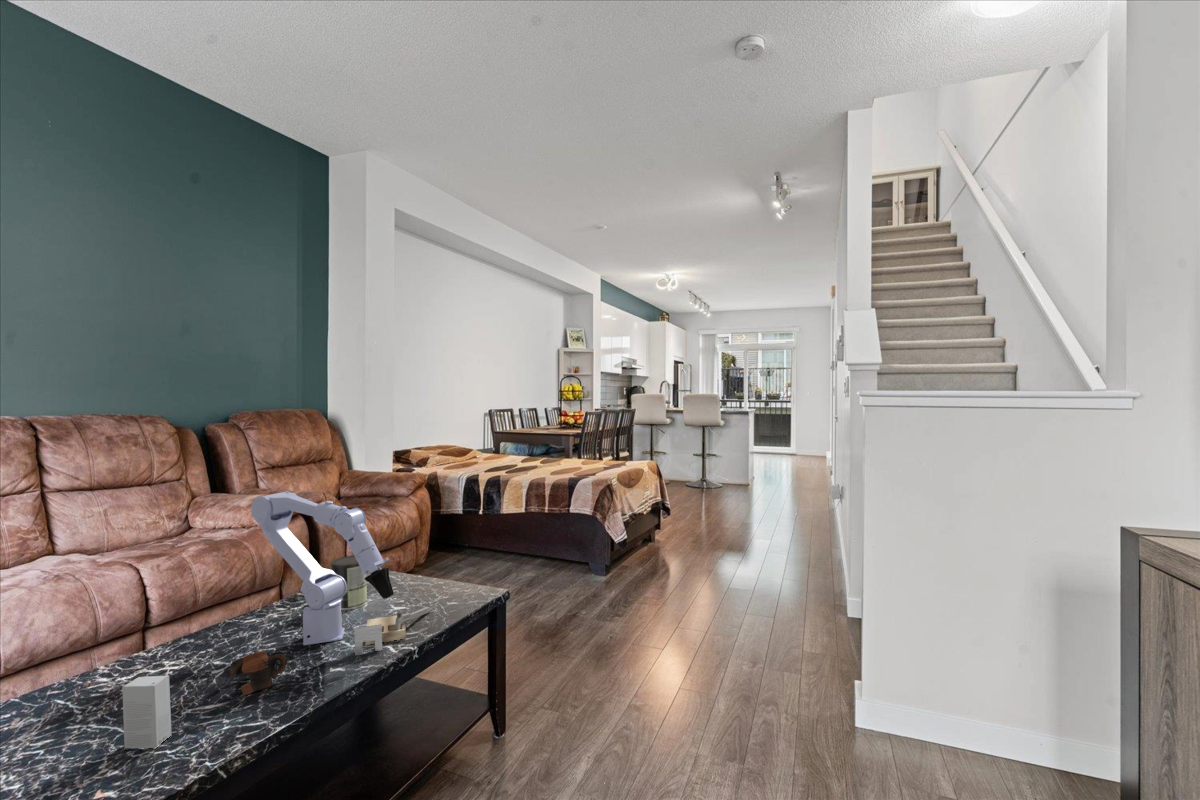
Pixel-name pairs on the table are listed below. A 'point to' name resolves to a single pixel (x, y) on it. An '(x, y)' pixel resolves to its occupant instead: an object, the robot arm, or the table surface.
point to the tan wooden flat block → (387, 629)
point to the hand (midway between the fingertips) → (389, 596)
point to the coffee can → (351, 582)
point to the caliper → (409, 617)
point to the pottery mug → (258, 670)
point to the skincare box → (146, 712)
